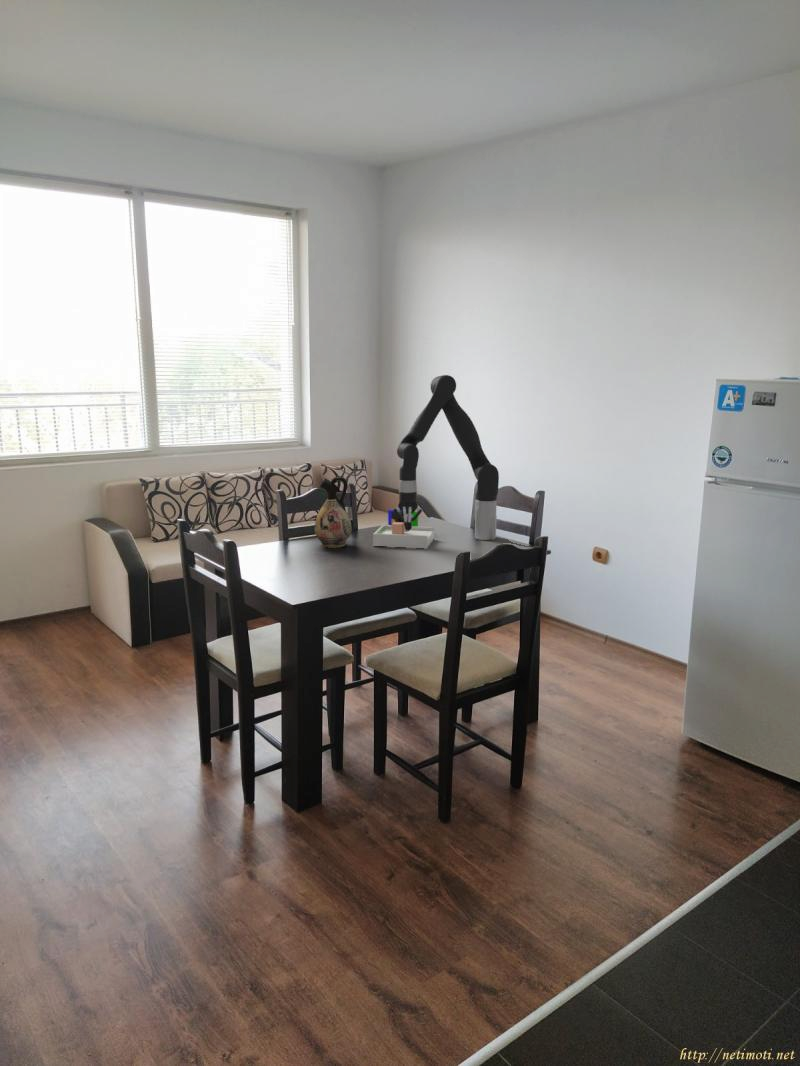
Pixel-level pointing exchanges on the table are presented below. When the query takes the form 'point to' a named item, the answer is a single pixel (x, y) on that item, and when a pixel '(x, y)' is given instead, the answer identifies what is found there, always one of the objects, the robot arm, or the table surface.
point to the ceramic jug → (333, 516)
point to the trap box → (404, 537)
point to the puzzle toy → (394, 518)
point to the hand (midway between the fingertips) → (408, 530)
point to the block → (398, 528)
